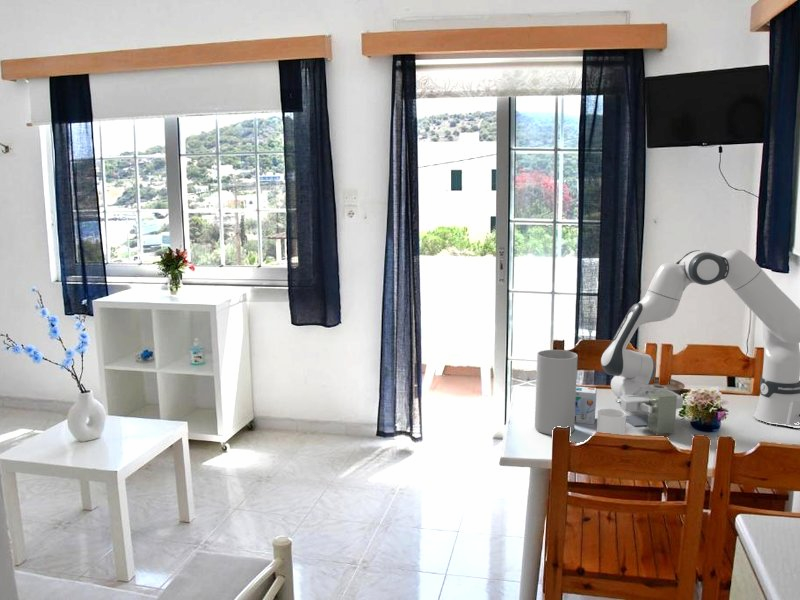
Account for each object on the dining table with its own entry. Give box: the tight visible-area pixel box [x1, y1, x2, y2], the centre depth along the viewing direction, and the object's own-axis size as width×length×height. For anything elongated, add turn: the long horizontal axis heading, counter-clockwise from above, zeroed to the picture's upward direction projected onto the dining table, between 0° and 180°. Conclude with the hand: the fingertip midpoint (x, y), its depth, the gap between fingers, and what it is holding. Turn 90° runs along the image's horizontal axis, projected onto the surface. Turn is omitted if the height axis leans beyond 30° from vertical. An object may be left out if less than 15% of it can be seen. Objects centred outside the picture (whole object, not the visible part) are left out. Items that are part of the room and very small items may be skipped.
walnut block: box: [650, 429, 670, 436], centre depth 236 cm, size 4×4×4 cm
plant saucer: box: [649, 376, 686, 395], centre depth 284 cm, size 18×18×3 cm
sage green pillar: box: [646, 391, 677, 434], centre depth 235 cm, size 6×6×12 cm
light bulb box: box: [575, 385, 597, 425], centre depth 248 cm, size 11×7×11 cm, turn 73°
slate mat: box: [626, 413, 648, 428], centre depth 248 cm, size 10×10×1 cm
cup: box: [596, 408, 627, 436], centre depth 227 cm, size 8×12×10 cm
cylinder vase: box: [534, 349, 578, 436], centre depth 237 cm, size 12×12×25 cm
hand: (663, 409), depth 234 cm, fingers closed on sage green pillar, 6 cm apart
